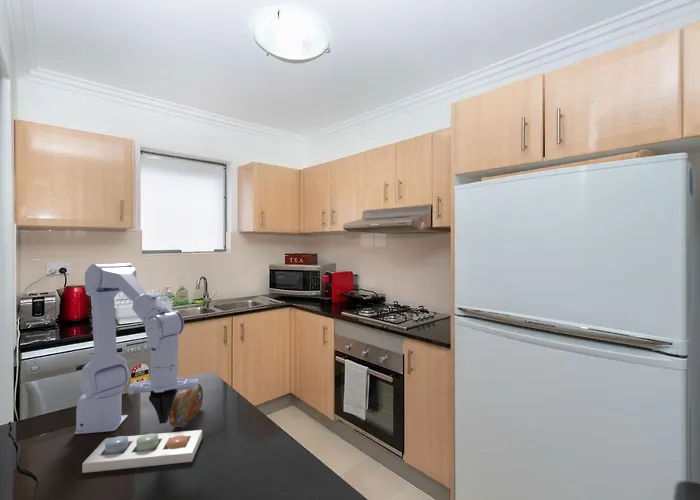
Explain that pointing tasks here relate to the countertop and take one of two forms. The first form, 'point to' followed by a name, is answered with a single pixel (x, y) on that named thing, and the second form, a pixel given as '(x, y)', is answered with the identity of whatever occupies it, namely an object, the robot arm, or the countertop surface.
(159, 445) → the button panel
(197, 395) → the tin
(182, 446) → the terracotta button
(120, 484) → the countertop surface
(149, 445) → the sage button
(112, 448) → the slate button
